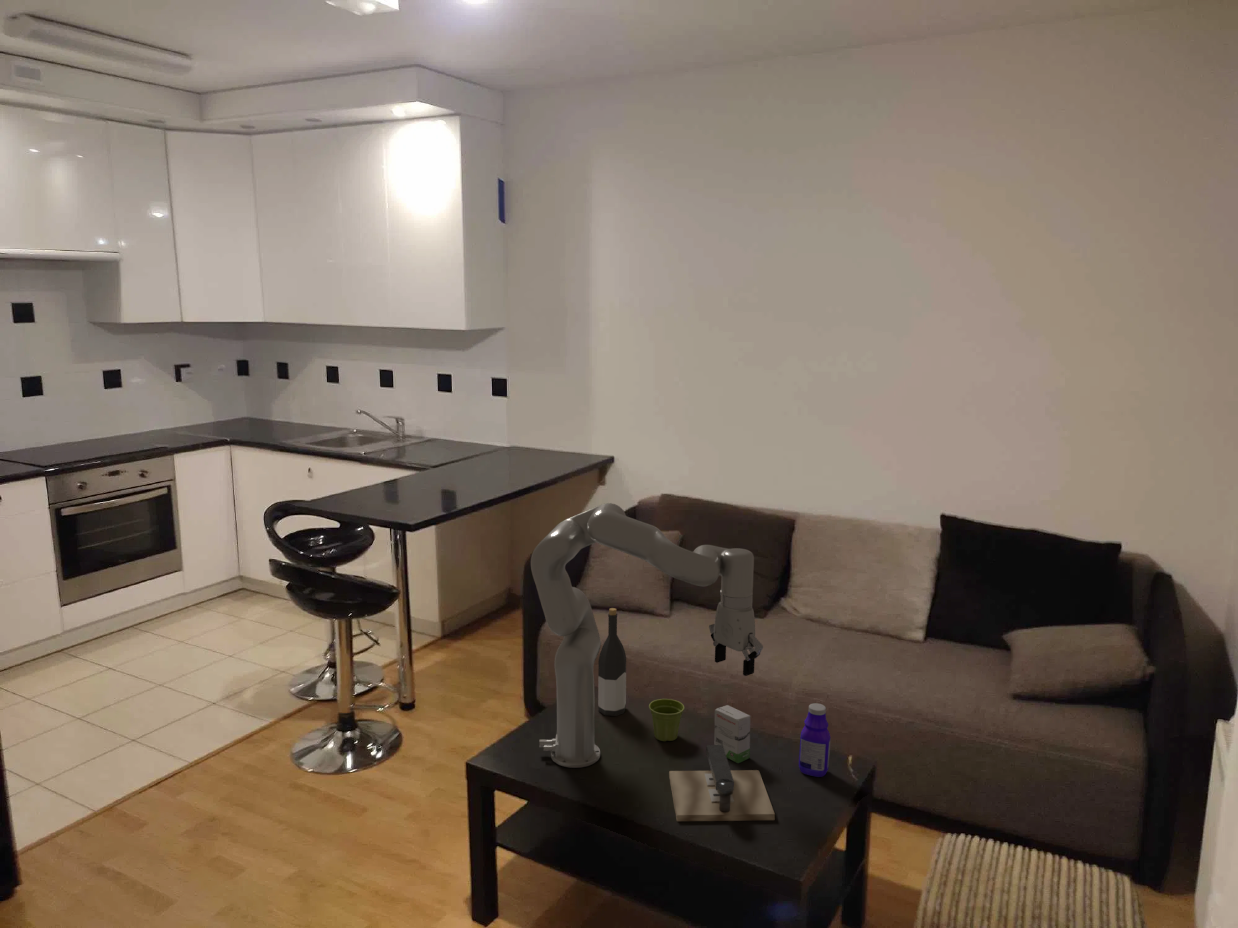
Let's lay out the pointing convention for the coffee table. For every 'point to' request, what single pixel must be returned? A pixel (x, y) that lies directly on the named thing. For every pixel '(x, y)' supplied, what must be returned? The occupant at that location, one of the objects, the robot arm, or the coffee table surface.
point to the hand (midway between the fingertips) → (734, 667)
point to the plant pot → (666, 718)
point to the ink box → (733, 733)
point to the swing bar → (720, 769)
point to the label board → (719, 797)
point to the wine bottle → (612, 672)
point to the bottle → (815, 742)
